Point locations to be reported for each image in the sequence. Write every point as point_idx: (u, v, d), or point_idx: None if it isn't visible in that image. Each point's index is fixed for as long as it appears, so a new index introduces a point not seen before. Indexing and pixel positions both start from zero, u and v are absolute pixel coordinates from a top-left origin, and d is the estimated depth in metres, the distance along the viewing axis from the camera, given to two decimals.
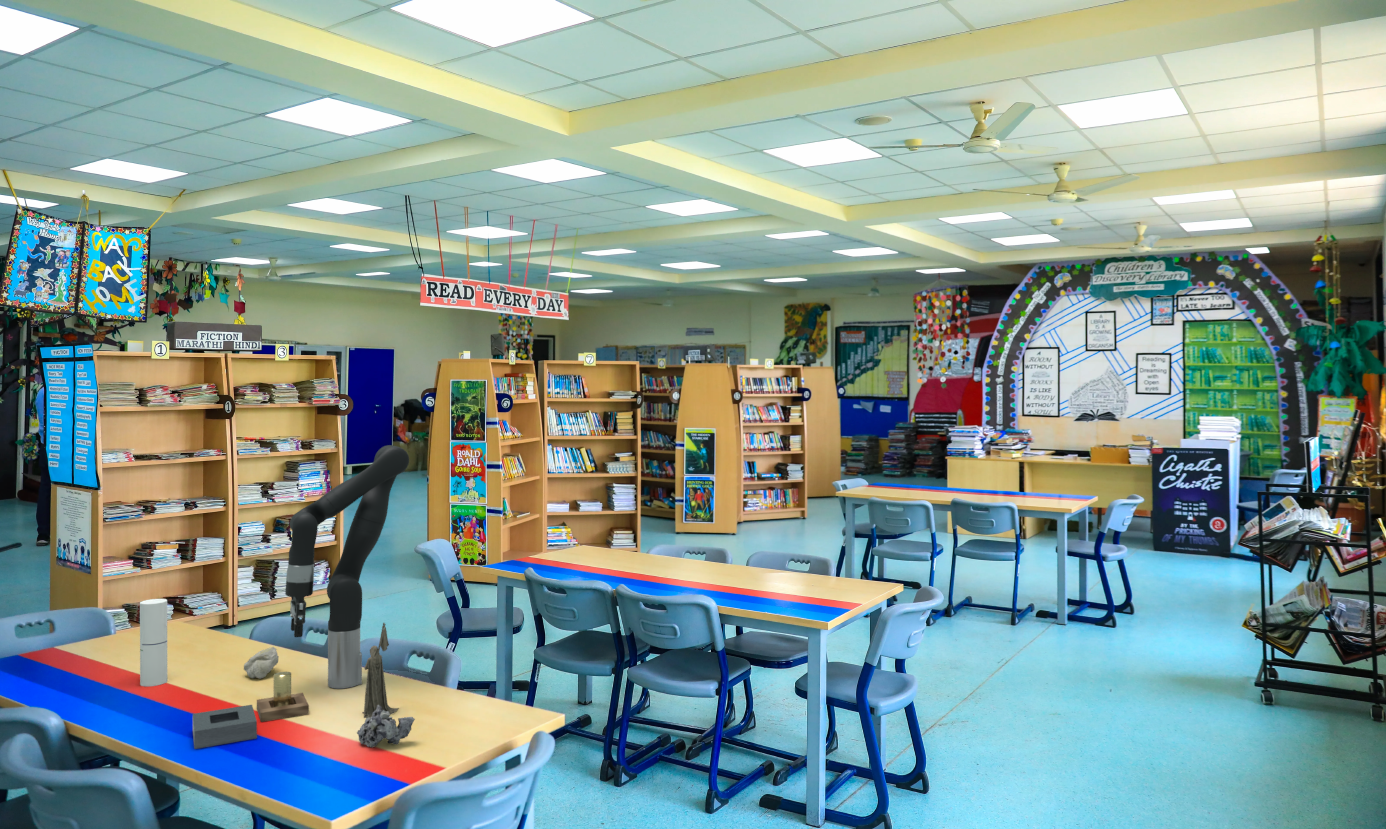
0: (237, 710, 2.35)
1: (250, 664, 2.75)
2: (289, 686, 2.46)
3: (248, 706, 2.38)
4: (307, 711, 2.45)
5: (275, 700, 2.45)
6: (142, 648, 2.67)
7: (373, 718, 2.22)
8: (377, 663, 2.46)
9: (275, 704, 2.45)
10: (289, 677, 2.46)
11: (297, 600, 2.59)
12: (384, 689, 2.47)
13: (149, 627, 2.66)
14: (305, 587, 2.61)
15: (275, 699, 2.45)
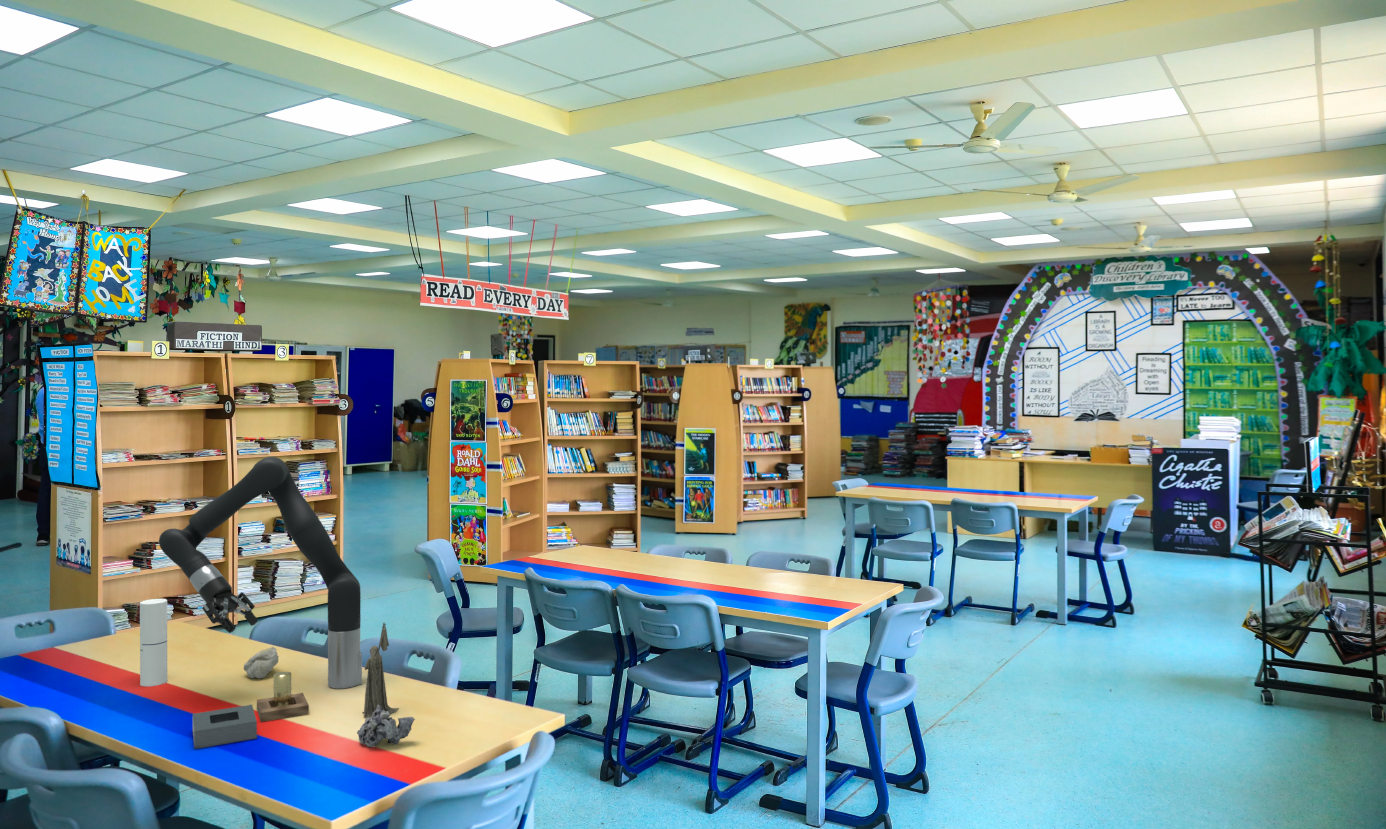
0: (237, 710, 2.35)
1: (250, 664, 2.75)
2: (289, 686, 2.46)
3: (248, 706, 2.38)
4: (307, 711, 2.45)
5: (275, 700, 2.45)
6: (142, 648, 2.67)
7: (373, 718, 2.22)
8: (377, 663, 2.46)
9: (275, 704, 2.45)
10: (289, 677, 2.46)
11: None
12: (384, 689, 2.47)
13: (149, 627, 2.66)
14: (207, 588, 2.49)
15: (275, 699, 2.45)
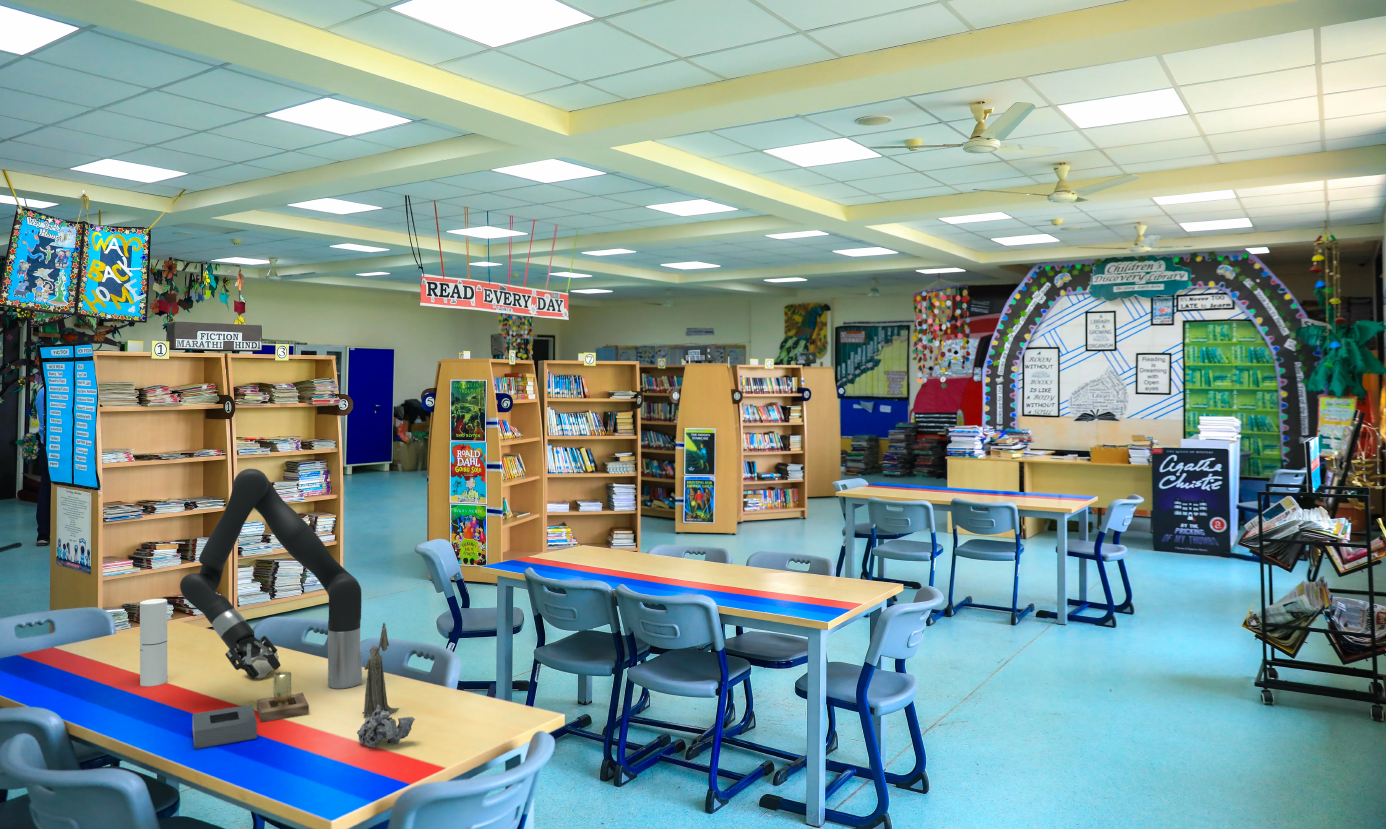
0: (237, 710, 2.35)
1: None
2: (289, 686, 2.46)
3: (248, 706, 2.38)
4: (307, 711, 2.45)
5: (275, 700, 2.45)
6: (142, 648, 2.67)
7: (373, 718, 2.22)
8: (377, 663, 2.46)
9: (275, 704, 2.45)
10: (289, 677, 2.46)
11: None
12: (384, 689, 2.47)
13: (149, 627, 2.66)
14: (230, 634, 2.47)
15: (275, 699, 2.45)
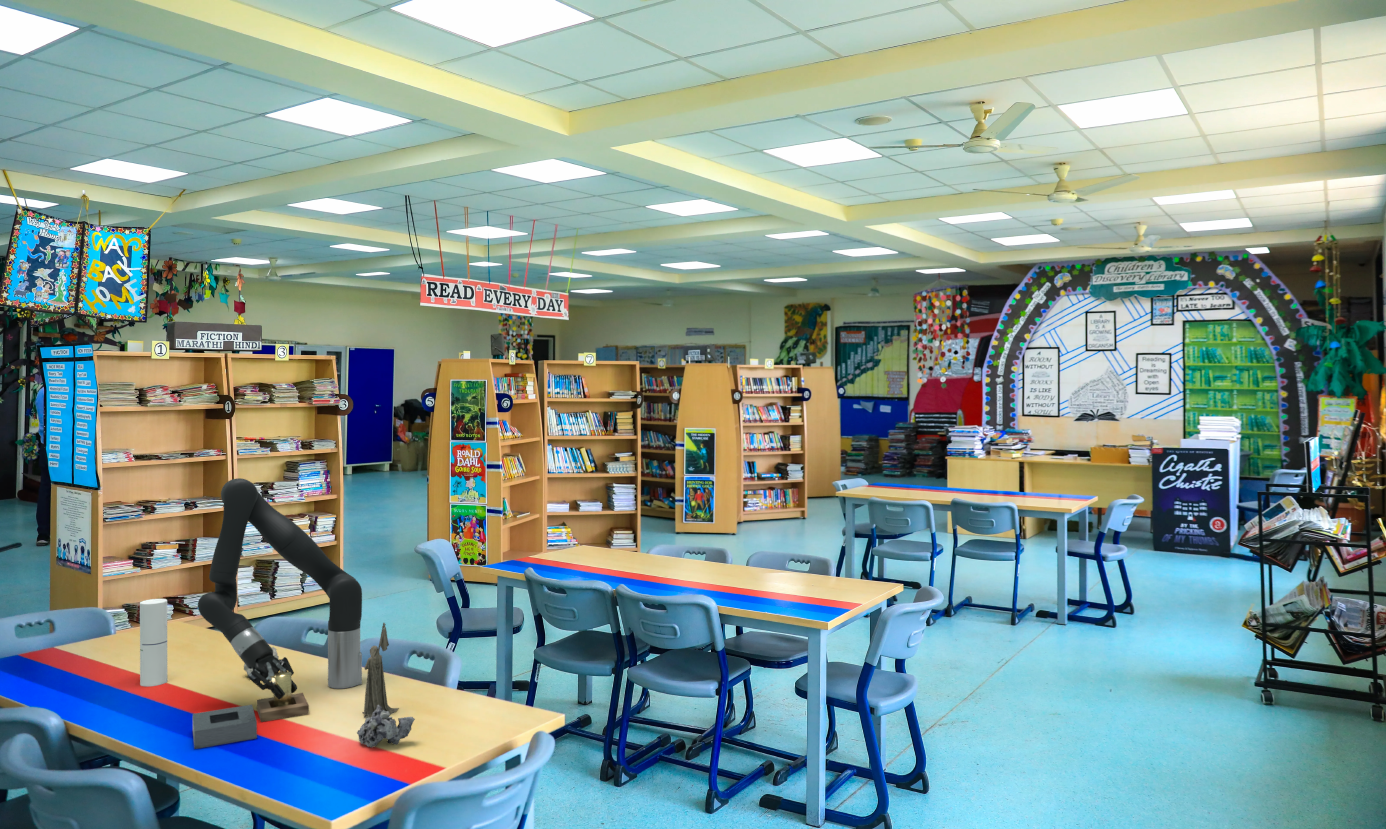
0: (237, 710, 2.35)
1: None
2: (289, 686, 2.46)
3: (248, 706, 2.38)
4: (307, 711, 2.45)
5: (275, 700, 2.45)
6: (142, 648, 2.67)
7: (373, 718, 2.22)
8: (377, 663, 2.46)
9: (275, 704, 2.45)
10: (289, 677, 2.46)
11: (252, 668, 2.45)
12: (384, 689, 2.47)
13: (149, 627, 2.66)
14: (249, 653, 2.45)
15: (275, 699, 2.45)
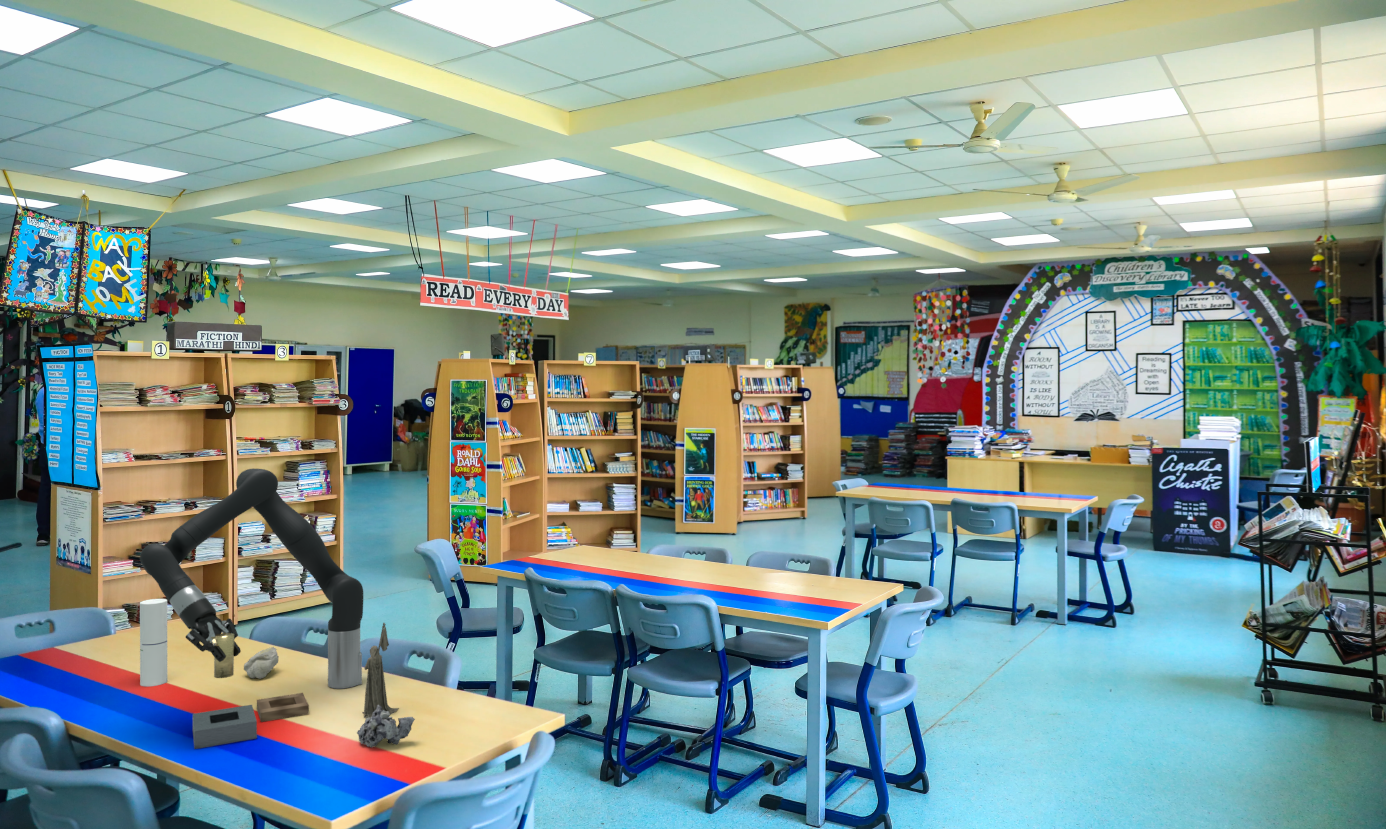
0: (237, 710, 2.35)
1: (250, 664, 2.75)
2: (231, 648, 2.29)
3: (248, 706, 2.38)
4: (307, 711, 2.45)
5: (216, 663, 2.28)
6: (142, 648, 2.67)
7: (373, 718, 2.22)
8: (377, 663, 2.46)
9: (215, 667, 2.28)
10: (231, 638, 2.29)
11: (191, 628, 2.28)
12: (384, 689, 2.47)
13: (149, 627, 2.66)
14: (188, 612, 2.28)
15: (216, 662, 2.28)
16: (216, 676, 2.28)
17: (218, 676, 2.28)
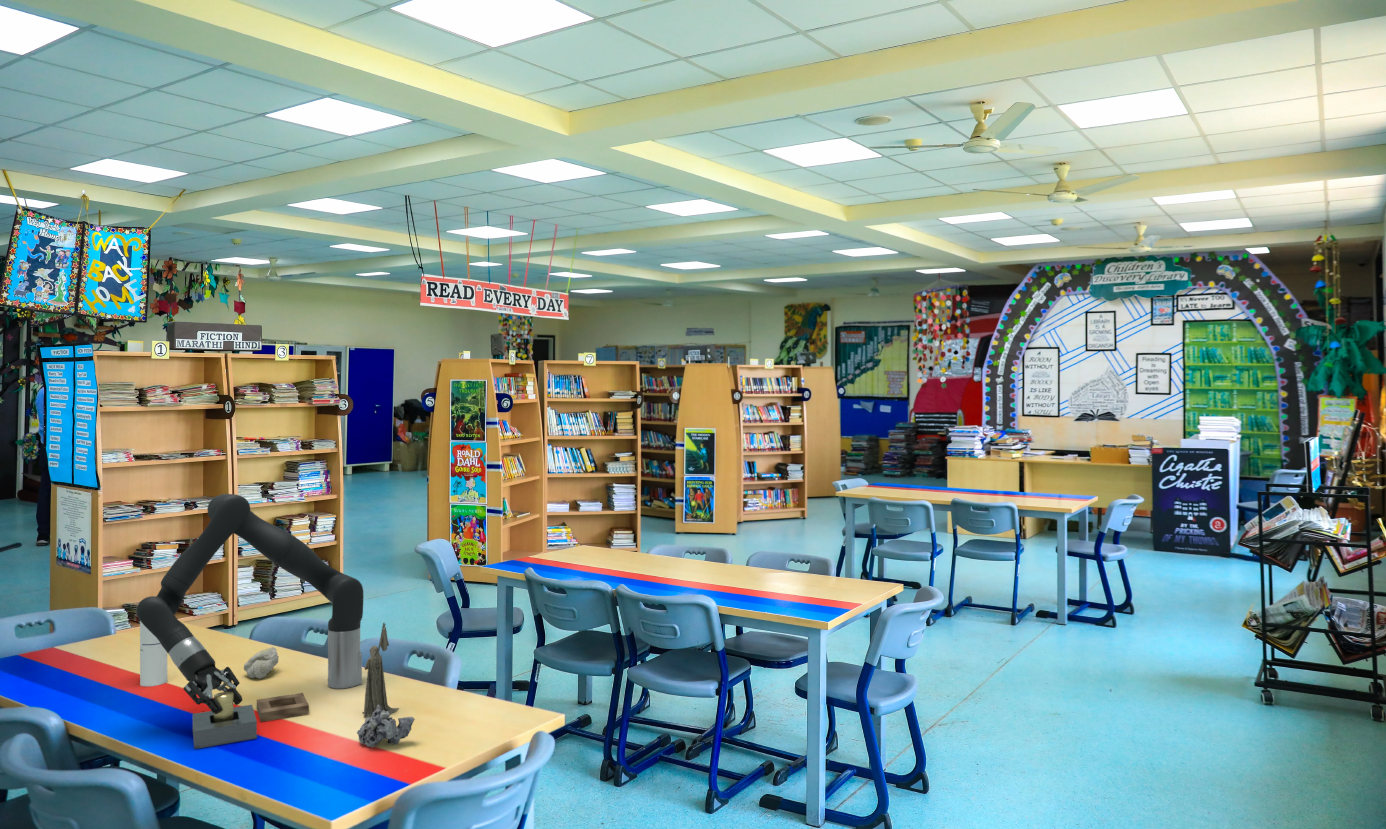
0: (237, 710, 2.35)
1: (250, 664, 2.75)
2: (231, 707, 2.29)
3: (248, 706, 2.38)
4: (307, 711, 2.45)
5: None
6: (142, 648, 2.67)
7: (373, 718, 2.22)
8: (377, 663, 2.46)
9: None
10: (231, 698, 2.29)
11: (191, 680, 2.27)
12: (384, 689, 2.47)
13: None
14: (188, 664, 2.28)
15: (215, 722, 2.28)
16: None
17: None
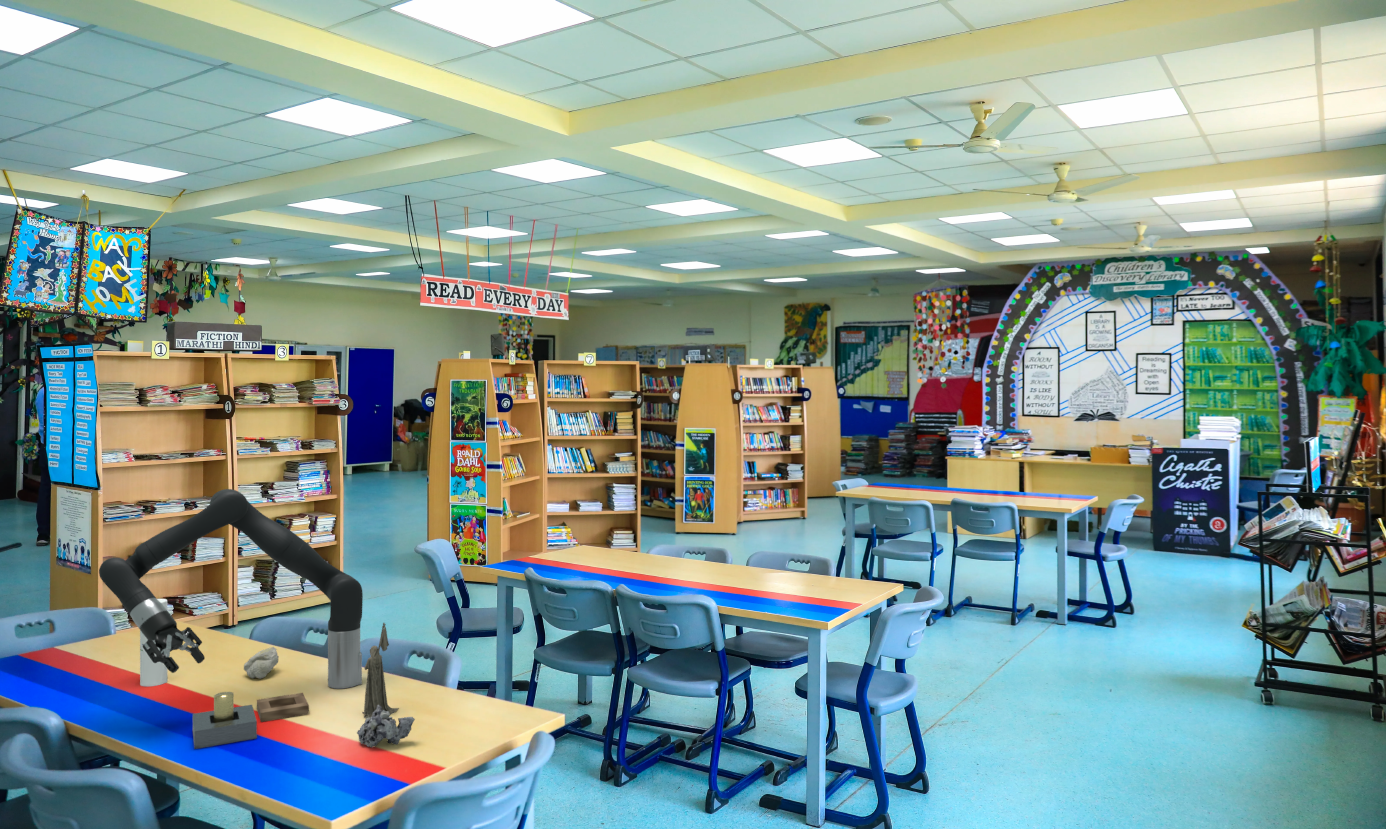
0: (237, 710, 2.35)
1: (250, 664, 2.75)
2: (231, 708, 2.29)
3: (248, 706, 2.38)
4: (307, 711, 2.45)
5: None
6: (142, 648, 2.67)
7: (373, 718, 2.22)
8: (377, 663, 2.46)
9: None
10: (231, 698, 2.29)
11: (152, 640, 2.30)
12: (384, 689, 2.47)
13: None
14: (149, 625, 2.31)
15: (215, 722, 2.28)
16: None
17: None
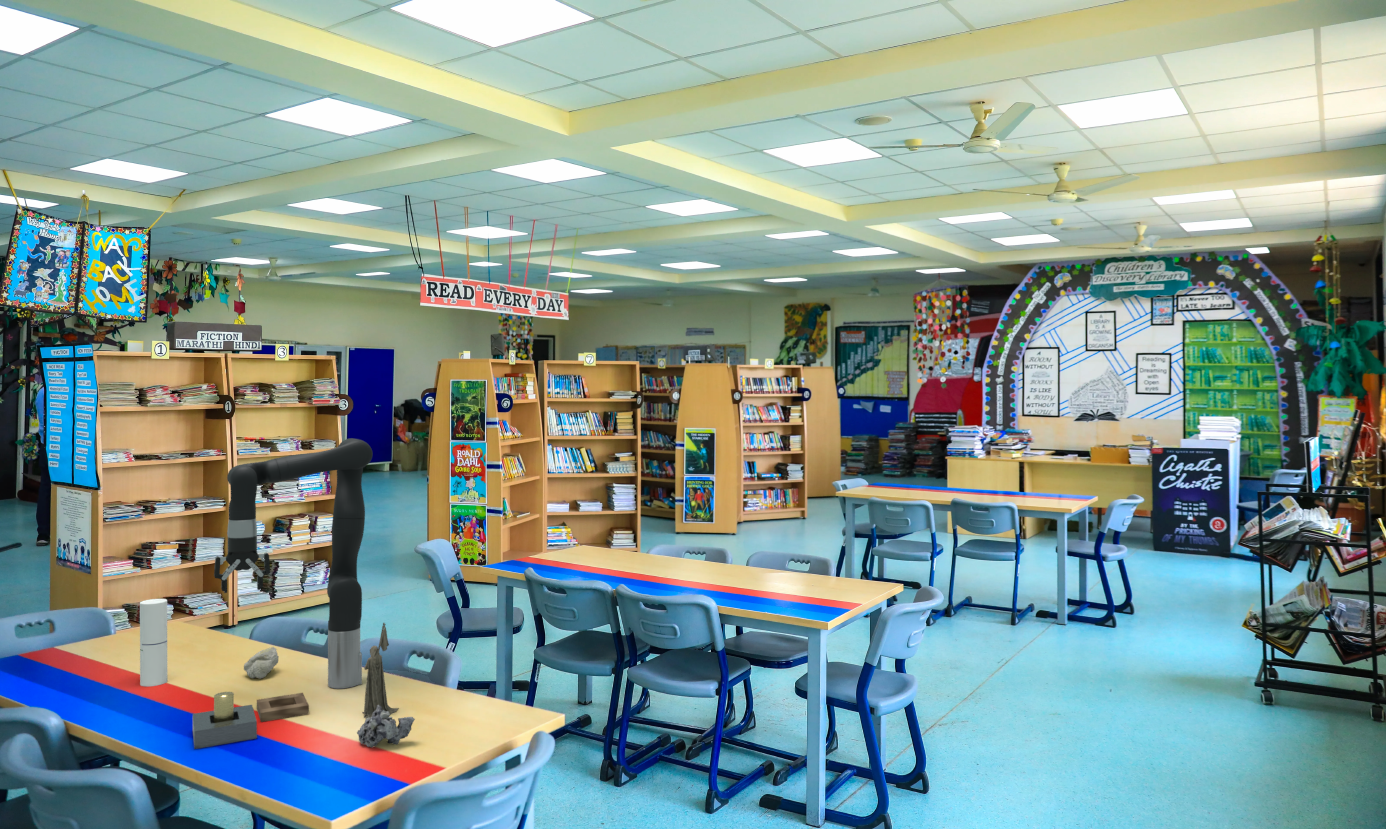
0: (237, 710, 2.35)
1: (250, 664, 2.75)
2: (231, 707, 2.29)
3: (248, 706, 2.38)
4: (307, 711, 2.45)
5: None
6: (142, 648, 2.67)
7: (373, 718, 2.22)
8: (377, 663, 2.46)
9: None
10: (231, 698, 2.29)
11: None
12: (384, 689, 2.47)
13: (149, 627, 2.66)
14: (228, 542, 2.50)
15: (215, 721, 2.28)
16: None
17: None
